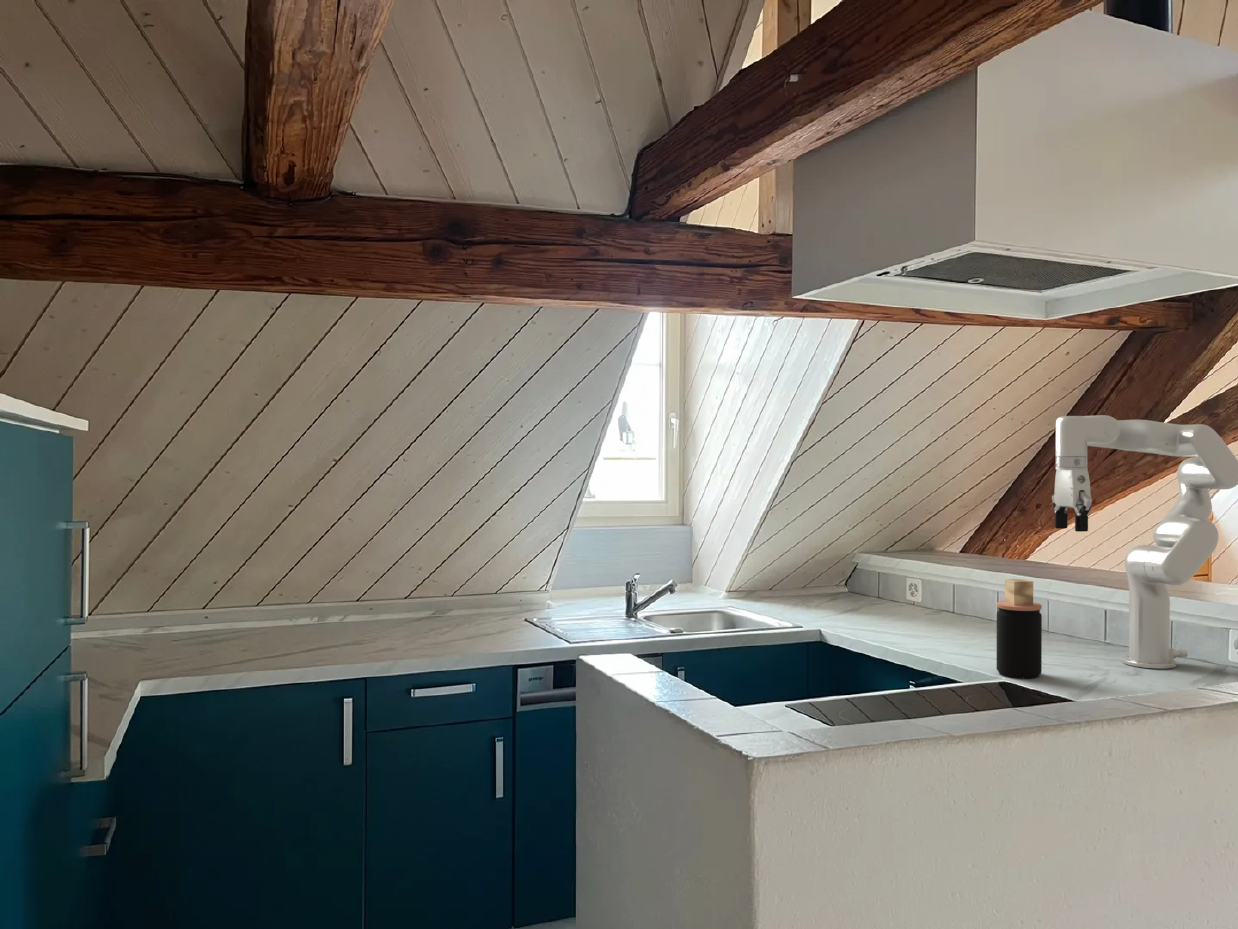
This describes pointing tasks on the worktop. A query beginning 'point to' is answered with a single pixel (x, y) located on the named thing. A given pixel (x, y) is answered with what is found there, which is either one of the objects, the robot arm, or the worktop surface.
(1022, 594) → the oak block
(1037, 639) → the coffee jar
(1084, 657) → the worktop surface
